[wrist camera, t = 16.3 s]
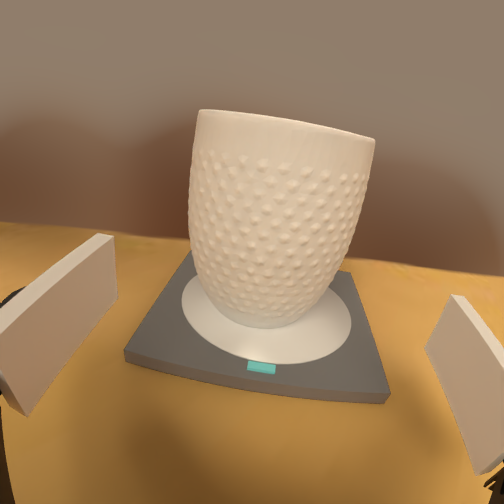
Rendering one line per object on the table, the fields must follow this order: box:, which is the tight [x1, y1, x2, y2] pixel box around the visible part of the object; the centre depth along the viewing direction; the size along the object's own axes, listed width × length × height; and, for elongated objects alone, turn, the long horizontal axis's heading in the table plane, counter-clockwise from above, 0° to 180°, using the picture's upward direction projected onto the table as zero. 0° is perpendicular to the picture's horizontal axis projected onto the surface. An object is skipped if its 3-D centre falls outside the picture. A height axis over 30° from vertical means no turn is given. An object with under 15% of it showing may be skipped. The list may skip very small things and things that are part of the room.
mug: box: [188, 109, 375, 329], centre depth 22 cm, size 15×11×13 cm
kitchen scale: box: [124, 250, 391, 404], centre depth 23 cm, size 16×16×1 cm
